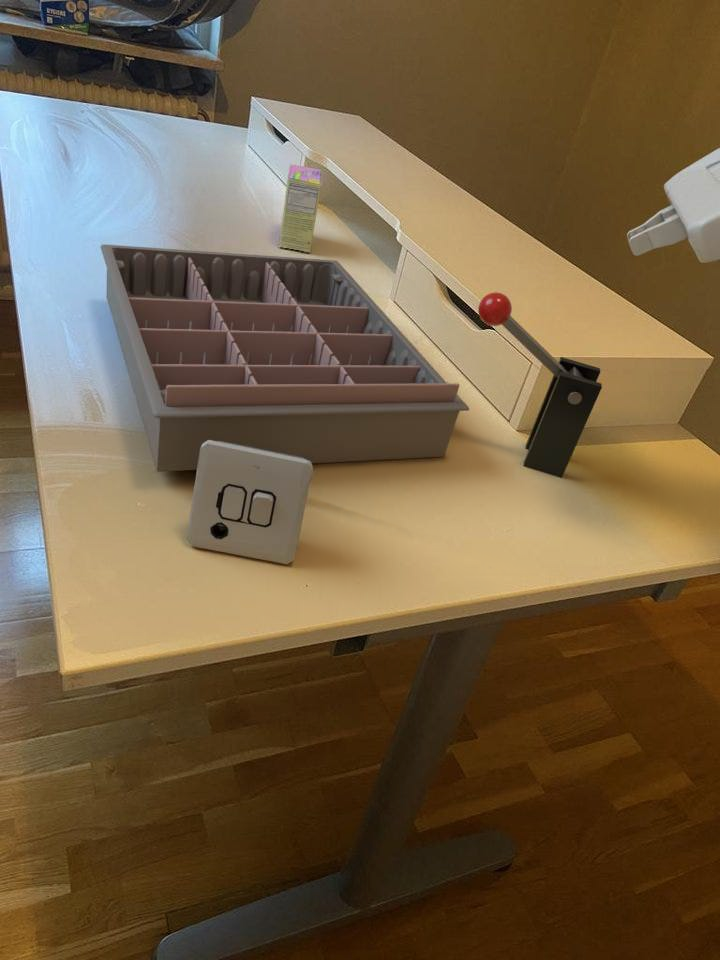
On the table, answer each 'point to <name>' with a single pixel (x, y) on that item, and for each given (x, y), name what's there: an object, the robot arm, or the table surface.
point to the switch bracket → (562, 418)
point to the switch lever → (518, 330)
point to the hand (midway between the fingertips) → (629, 245)
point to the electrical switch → (248, 501)
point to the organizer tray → (270, 359)
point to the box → (300, 208)
